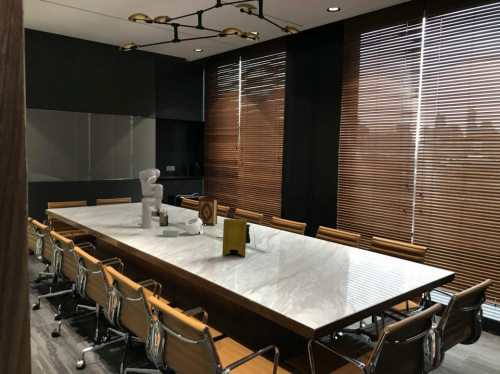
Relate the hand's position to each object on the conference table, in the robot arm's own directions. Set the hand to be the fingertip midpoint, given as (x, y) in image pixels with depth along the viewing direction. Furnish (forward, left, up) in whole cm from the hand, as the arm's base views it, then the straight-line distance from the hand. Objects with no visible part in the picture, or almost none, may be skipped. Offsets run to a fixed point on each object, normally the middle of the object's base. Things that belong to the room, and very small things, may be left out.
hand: (158, 216), depth 374 cm
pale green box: (+14, -7, -17) cm, 23 cm away
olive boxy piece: (+73, -73, -18) cm, 105 cm away
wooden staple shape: (0, -2, -1) cm, 2 cm away
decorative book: (+46, +60, -18) cm, 77 cm away
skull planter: (+35, +5, -18) cm, 40 cm away
